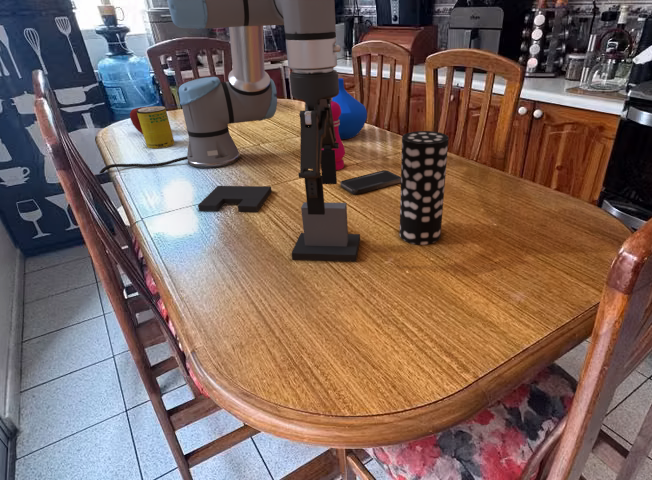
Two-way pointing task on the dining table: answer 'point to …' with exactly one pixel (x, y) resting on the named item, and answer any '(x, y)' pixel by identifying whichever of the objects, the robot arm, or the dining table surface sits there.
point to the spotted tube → (422, 186)
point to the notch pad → (236, 198)
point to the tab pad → (327, 250)
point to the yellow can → (155, 127)
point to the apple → (136, 119)
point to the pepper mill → (337, 135)
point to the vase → (349, 113)
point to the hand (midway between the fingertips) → (323, 197)
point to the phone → (370, 182)
